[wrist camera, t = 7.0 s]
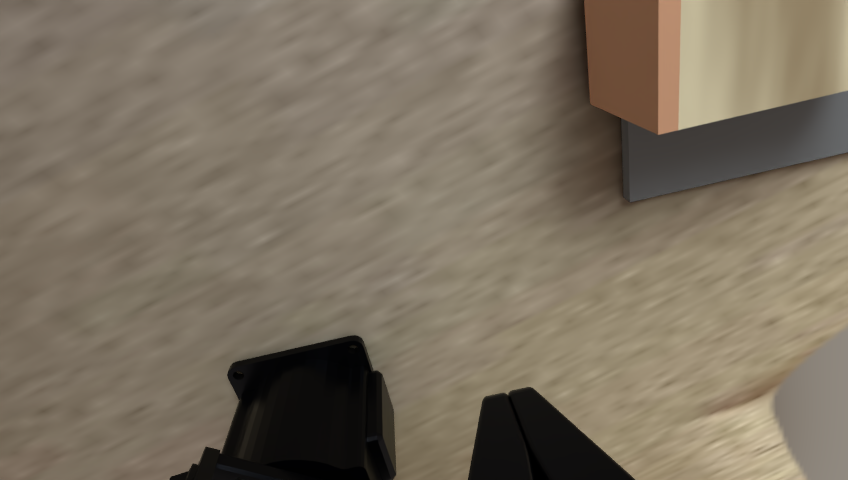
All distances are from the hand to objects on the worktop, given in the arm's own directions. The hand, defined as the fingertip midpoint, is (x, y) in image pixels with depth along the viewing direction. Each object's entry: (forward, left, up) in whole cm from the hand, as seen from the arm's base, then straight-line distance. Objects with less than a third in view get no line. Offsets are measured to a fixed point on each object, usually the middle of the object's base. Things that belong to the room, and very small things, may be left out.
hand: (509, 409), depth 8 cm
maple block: (+6, +4, -10) cm, 13 cm away
